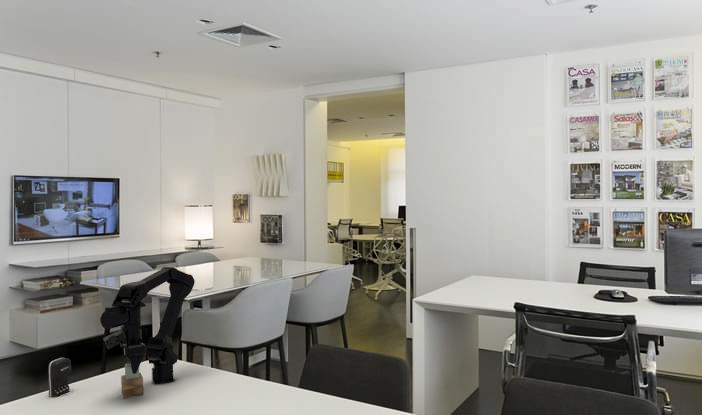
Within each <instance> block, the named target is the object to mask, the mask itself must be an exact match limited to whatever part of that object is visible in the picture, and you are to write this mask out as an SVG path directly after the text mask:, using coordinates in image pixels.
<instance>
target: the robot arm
mask: <svg viewBox="0 0 702 415" xmlns="http://www.w3.org/2000/svg"><path fill="white" fill-rule="evenodd" d="M195 281H196V280H195V278H194V275H192V274H190V273H186V272H184V271H181V270H179V269H178V268H176V267H173V266H164V267H161V269H159V270H158V271H155V272H154V273H151V274H150V275H148V276H146V277H144V278H142V279H141V280H137V281H132V282H129V283H124V284H122V285H121V286H120V287H119V290H118V291H117V294H116V296H115V297H114V299H113V301H112V303H111V306H107V307H105V308H104V311H103V312H102V313H101V316H100V319H99V321H100V324H101V326H102V328H104V329H105V330H112V329H115V328H118V327H120V330H118V331H115V332H113V333H111V334H109V335H107V336H105V337H103V342H104V343H105V346H106V348H107V350H111V349H112V348H113V347H116V346H119V345H120V348H122V350H123V353H124V354H123V355H124V356H125V358H127V363H130V364H131V369H132V373H133V374H136V373H137V371H138V368H139V369H140V365H141V363H142V361H143V358H144V357H145V355H146V358H147V360H148V364H150V365H151V364H152V365H153V366H152V367H151V380H152V382H153V383H154V384H155V385H158V384H164V383H165V384H166V383H170V382H175V378H174V365H175V364H176V363H178V360H179V356H178V354H176V352H174V351H173V350H174V349H173V348H174V343H173V334H174V332H175V331H174V330H175V327H176V325H177V321H178V319H179V317H180V313H181V311H182V310H181V309H182V306H183V304H184V300H185V299H186V297H188V296H189V295H190V294H191V292H192V290H193V288H194V287H195ZM164 283H167V284H169V286H168V291H169V294H170V296H169V300H168V302H167V305H166V308H165V311H164V314H163V316H162V319H161V323H160V326H159V328H158V331H157V334H156V335H155V336H150V337H149V339H148V342H147V345H145V343H143V337H142V329H143V325H142V308H145V307H146V304H145V303H144V302H143V300H144V299H145V298H147V296H148V293H149V292H150V291H153V290H154V289H156V288H158V287H159V286H160V285H162V284H164Z"/></svg>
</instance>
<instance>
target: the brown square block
mask: <svg viewBox="0 0 702 415" xmlns="http://www.w3.org/2000/svg"><path fill="white" fill-rule="evenodd" d="M120 383H121V385H120V386H121V389H122V388H123V390H126V389H132V388H138V387H143V388H144V378H143V375H142V373H141V372H139V378H132V379H126V377H125V374H123V375H121V376H120Z"/></svg>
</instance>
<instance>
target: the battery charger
mask: <svg viewBox="0 0 702 415" xmlns="http://www.w3.org/2000/svg"><path fill="white" fill-rule="evenodd" d="M47 366H48V367H47V381H48V382H47V383H48V396H49V397H59V396H61V395H63V394H66V393H68V392H69V391H70V386H69V382H68V381H69V379H68V376H69V374H71V373H72V362H71V359H70V358H67V357H59V358H56V359H54V360H52V361H49V363H48V365H47Z"/></svg>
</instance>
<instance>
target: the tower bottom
mask: <svg viewBox="0 0 702 415" xmlns="http://www.w3.org/2000/svg"><path fill="white" fill-rule="evenodd" d="M121 396H122V398H123V399H124V400H125V399H130V398H134V397H135V398H136V397H141V396H144V386H143V387H138V388H132V389H126V390H123V388H122V387H121Z"/></svg>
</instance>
